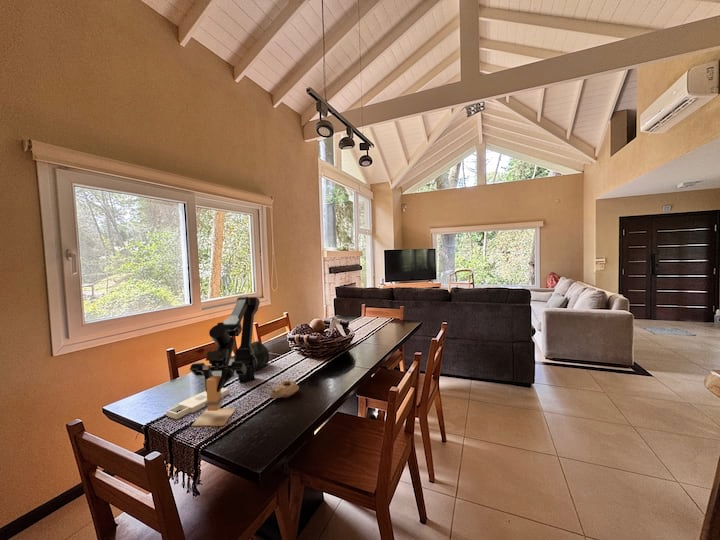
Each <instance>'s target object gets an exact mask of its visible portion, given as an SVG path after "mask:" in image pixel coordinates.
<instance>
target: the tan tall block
mask: <svg viewBox="0 0 720 540" xmlns="http://www.w3.org/2000/svg"><path fill="white" fill-rule="evenodd" d="M220 378H221V375H216V376H215V375H213V376H211V377H209V378H208V379H207V380H206V387H207V402H206V403H205V407H206V408H207V410H208V411H217V410H218V409H221V407H222V406H223V405H222V401H223V400H224V397H221V390H220V391H219V392H217V387H218V384H219V381H220ZM206 387H205V388H206Z"/></svg>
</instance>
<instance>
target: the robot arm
mask: <svg viewBox="0 0 720 540" xmlns="http://www.w3.org/2000/svg"><path fill="white" fill-rule="evenodd" d="M260 302H261V301H260V299H259V298H258V297H257V296H239V297H237V299H236V304H235V305H234V308H233V309H232V311H231V314H230V316H229V317H227V318H226V319H224V320H223V321H222V322H217V324H216V325H214V326H212V327H211V328H210V329H209V333H208V334H209V336H210V338H211V339H212V341H213V342H214V344H216V345H217V347H216V349H214V350H211V351H206V357H205V361H206V362H208V363H209V364H210V365H206V364H205V363H204V362H193V363H192V364H191V365H190V367H189V370H190V372H191V373H192V374H193V375H194V376H196V377H204V383H205V391H206V392H207V387H206V380H207V379H208V378H209V377H211V376H214V374H213V372H221V373H220V381H219V384H218V387H217V392H219V391H220V390H221V389H222V388H224V386H225V385H226V384H227V383H228V381H230V379H231V378H234V377H235V373H236V375H237V379H238V381H239V383H240V384H243V383H242V382H244V383H249V382H253V380H254V381H256V378H255V369H254V367H257V359H256V357H255V355H254V350H253V348H252V346H251V343H253V341H252V340H253V331H254V330H253V329H254V317H255V315H256V313H257V312H258V310H259V307H260V305H261V304H260ZM240 334H241V339H240V346H239V347H238V348H237V349H236V350H235V355H234V360H233V361H232V362H231V364H230V360H232V359H233V356H232V355H233V354H232V353H233V351H234V347H235V346H236V340H235V339H234V337H238V336H240ZM229 364H230V365H229ZM248 381H249V382H248Z"/></svg>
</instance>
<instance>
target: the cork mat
mask: <svg viewBox="0 0 720 540" xmlns="http://www.w3.org/2000/svg"><path fill="white" fill-rule="evenodd" d="M236 410H237V407H226V408H219V409H218V410H217V411H208V410H207V409H205V410H204V411H203V412H202V413H201V414H200V415H199V417H198V418H196V420H195V421H194V422H193V423H192V424H191V425H190V427H191V428H192V427H193V428H194V427H216V426H217V427H218V426H219V427H221V426H225V425H226V424H227V423H228V421H229V419H231V417H232V416H233V414H234V413H235V412H236Z"/></svg>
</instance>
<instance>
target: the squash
mask: <svg viewBox="0 0 720 540" xmlns="http://www.w3.org/2000/svg"><path fill="white" fill-rule="evenodd" d="M251 346H252V348H253V350H254V355H255V357H256V359H257V367H254V370H262V369H263V368H265V367H267V365H268V363H269V362H270V353H269V350H268V348H267V346H266V345H265V344H263V343H262V342H261V341H258V340H257V341H254V342H253V341H252V342H251Z"/></svg>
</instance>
